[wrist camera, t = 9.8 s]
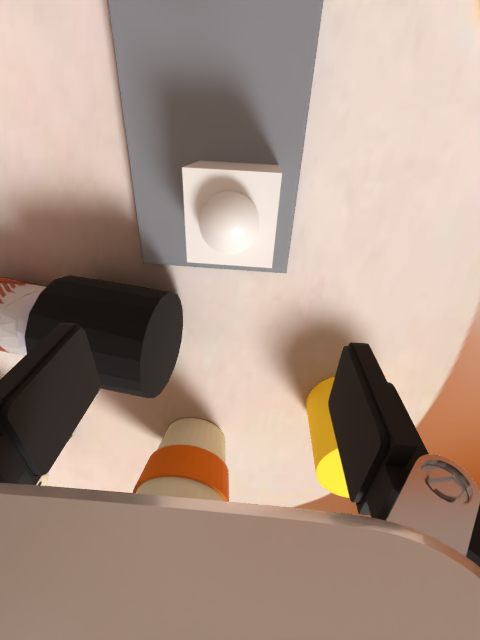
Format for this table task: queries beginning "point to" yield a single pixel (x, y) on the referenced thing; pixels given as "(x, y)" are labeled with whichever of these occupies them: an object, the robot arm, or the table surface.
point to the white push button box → (231, 212)
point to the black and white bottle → (99, 327)
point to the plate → (212, 103)
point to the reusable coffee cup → (188, 463)
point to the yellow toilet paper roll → (325, 440)
